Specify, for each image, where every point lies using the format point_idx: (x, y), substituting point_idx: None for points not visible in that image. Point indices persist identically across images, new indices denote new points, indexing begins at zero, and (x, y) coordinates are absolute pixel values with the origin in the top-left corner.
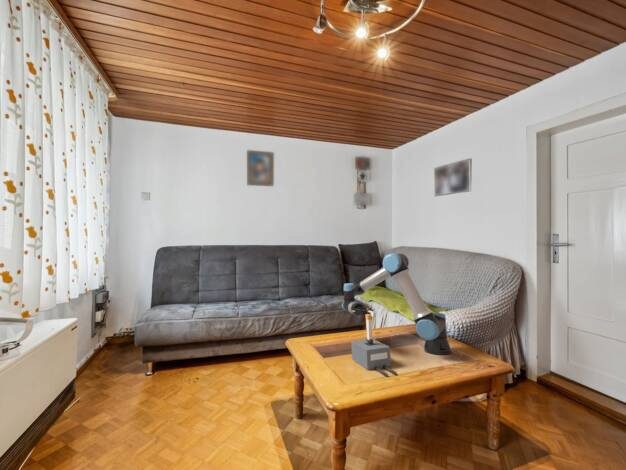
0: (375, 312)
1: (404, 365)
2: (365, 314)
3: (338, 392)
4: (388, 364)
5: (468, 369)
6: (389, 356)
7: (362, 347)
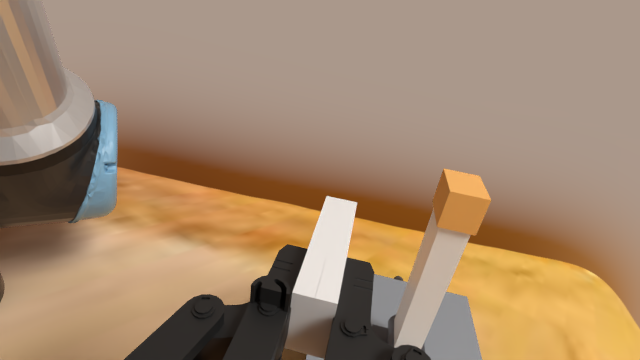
0: (327, 198)
1: None
2: (490, 200)
3: (585, 303)
4: None
5: (147, 193)
6: None
7: (474, 338)
